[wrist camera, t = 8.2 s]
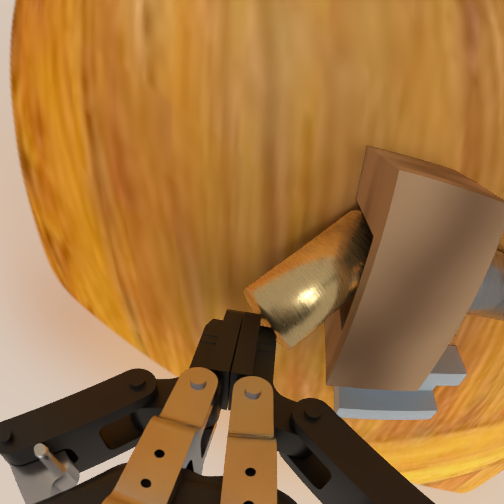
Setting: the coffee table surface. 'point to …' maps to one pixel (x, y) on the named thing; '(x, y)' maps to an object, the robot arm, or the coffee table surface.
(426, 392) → the cradle
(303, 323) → the cylinder
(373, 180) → the beam
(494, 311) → the axle
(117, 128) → the coffee table surface
